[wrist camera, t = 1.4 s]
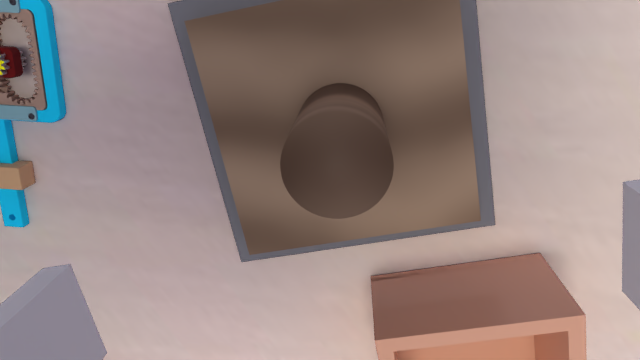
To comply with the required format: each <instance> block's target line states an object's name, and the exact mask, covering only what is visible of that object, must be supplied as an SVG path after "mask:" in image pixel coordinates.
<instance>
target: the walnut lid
mask: <svg viewBox="0 0 640 360" xmlns="http://www.w3.org/2000/svg"><path fill="white" fill-rule="evenodd" d="M184 22H185V25H186V29H187V32H188V36H189V40H190V43H191V47H192V50H193V54H194V58H195V61H196V65H197V68H198V72H199V76H200V79H201V83H202V86H203V90H204V94H205V97H206V101H207V104H208V108H209V112H210V115H211V119H212V122H213V126H214V130H215V133H216V137H217V140H218V144H219V147H220V151H221V155H222V158H223V162H224V165H225V169H226V173H227V176H228V180H229V183H230V187H231V191H232V194H233V198H234V201H235V205H236V209H237V212H238V216H239V219H240V223H241V227H242V230H243V234H244V237H245V241H246V245H247V248H248V252H249V255H253V254H260V253H267V252H274V251H280V250H287V249H294V248H301V247H307V246H314V245H321V244H328V243H334V242H341V241H348V240H355V239H361V238H368V237H375V236H382V235H388V234H395V233H402V232H409V231H415V230H422V229H429V228H436V227H443V226H449V225H456V224H463V223H470V222H476V221H481V216H480V206H479V195H478V185H477V175H476V164H475V154H474V143H473V133H472V123H471V112H470V102H469V91H468V81H467V71H466V60H465V50H464V39H463V29H462V19H461V8H460V0H280V1H276V2H271V3H266V4H262V5H257V6H252V7H248V8H243V9H238V10H234V11H229V12H224V13H220V14H215V15H210V16H206V17H201V18H196V19H192V20H187V21H184Z"/></svg>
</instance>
